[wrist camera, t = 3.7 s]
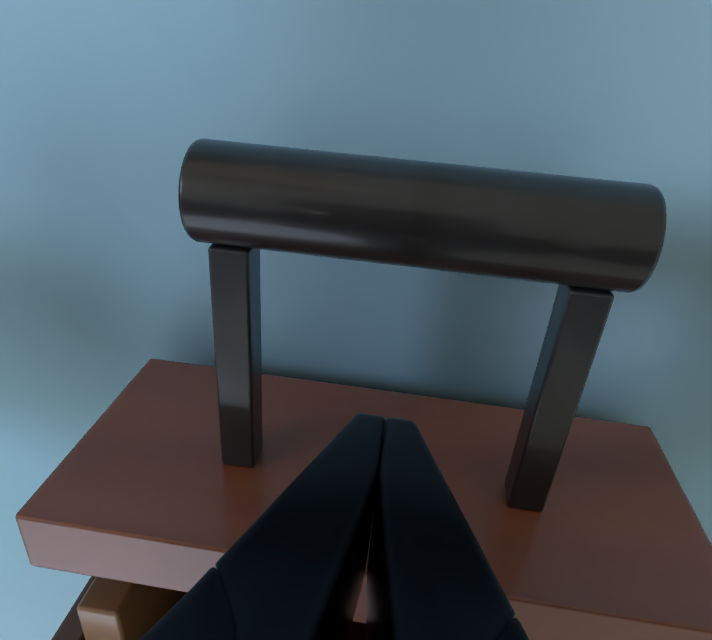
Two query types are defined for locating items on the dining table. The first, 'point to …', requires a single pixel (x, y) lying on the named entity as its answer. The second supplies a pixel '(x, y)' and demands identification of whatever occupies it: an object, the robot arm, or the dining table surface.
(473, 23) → the dining table surface
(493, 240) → the drawer
